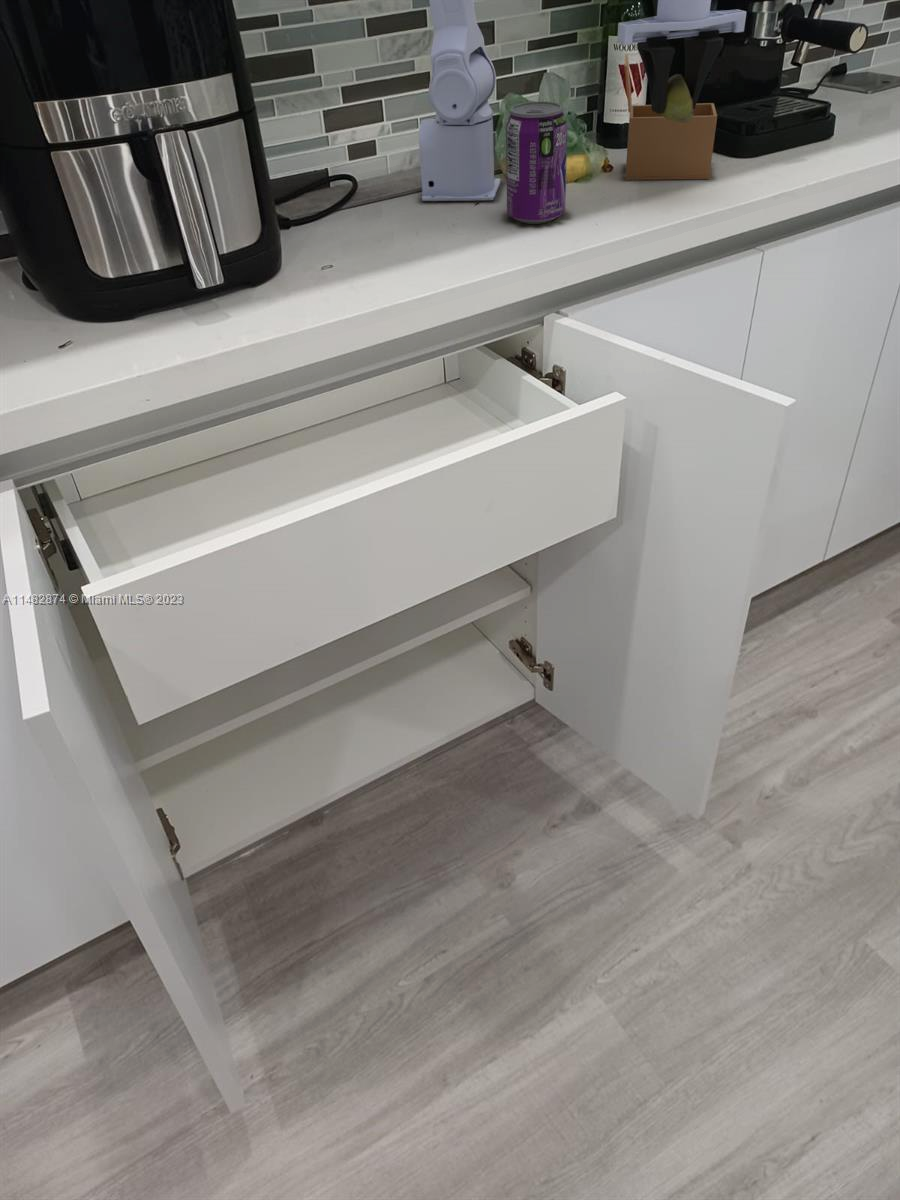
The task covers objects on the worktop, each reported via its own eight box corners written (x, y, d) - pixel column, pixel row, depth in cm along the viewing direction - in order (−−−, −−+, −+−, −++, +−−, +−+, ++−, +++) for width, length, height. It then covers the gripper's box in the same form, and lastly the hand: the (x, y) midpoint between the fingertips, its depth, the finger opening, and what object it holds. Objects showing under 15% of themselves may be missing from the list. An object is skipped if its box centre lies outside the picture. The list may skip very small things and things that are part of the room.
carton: (625, 180, 116) (629, 118, 111) (626, 165, 121) (630, 105, 116) (709, 179, 114) (717, 116, 109) (706, 164, 119) (713, 103, 114)
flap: (631, 112, 110) (628, 112, 110) (631, 99, 115) (629, 100, 115) (627, 65, 107) (624, 66, 107) (627, 54, 112) (625, 55, 112)
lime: (670, 115, 106) (674, 68, 103) (703, 121, 103) (710, 73, 100) (647, 123, 104) (652, 75, 101) (681, 129, 101) (687, 80, 98)
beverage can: (561, 227, 103) (564, 114, 95) (502, 226, 105) (500, 115, 97) (567, 207, 108) (570, 99, 101) (511, 207, 110) (510, 100, 102)
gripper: (731, -41, 98) (714, 95, 107) (610, -29, 96) (603, 109, 105) (763, -36, 93) (742, 107, 102) (636, -22, 90) (626, 122, 99)
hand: (673, 109), depth 103 cm, fingers closed on lime, 3 cm apart
